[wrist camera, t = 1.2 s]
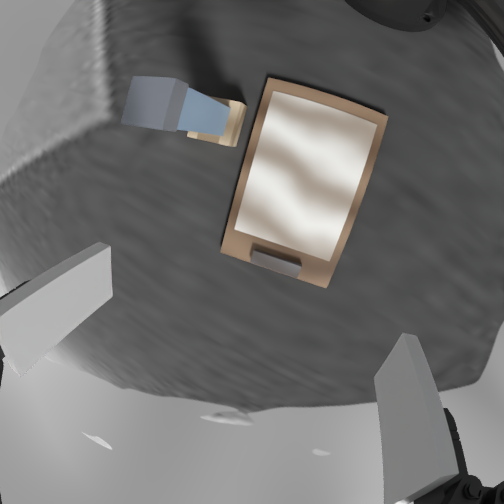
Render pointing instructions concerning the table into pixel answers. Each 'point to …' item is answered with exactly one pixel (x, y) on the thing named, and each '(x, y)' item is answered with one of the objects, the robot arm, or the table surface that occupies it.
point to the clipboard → (302, 181)
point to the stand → (231, 127)
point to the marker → (172, 107)
